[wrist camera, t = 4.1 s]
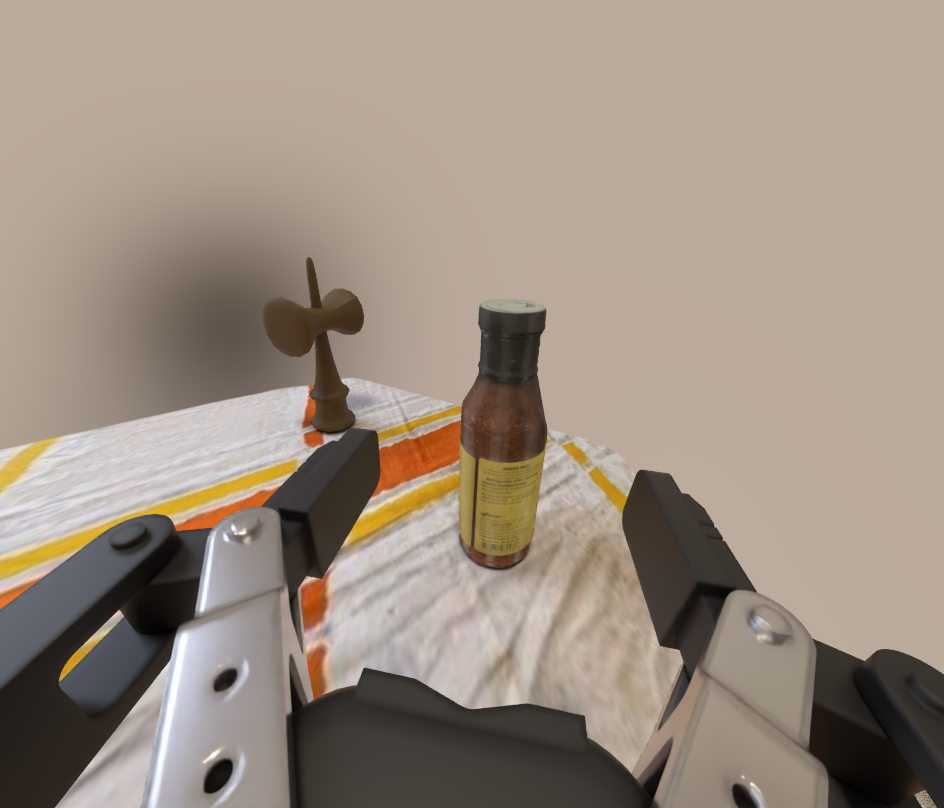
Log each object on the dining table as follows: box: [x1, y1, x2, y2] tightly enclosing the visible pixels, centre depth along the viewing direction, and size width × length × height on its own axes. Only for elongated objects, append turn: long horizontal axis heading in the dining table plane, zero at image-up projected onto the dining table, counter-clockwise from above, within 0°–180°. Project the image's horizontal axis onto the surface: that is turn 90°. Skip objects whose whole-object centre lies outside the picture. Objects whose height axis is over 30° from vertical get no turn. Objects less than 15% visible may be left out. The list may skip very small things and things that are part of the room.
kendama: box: [263, 257, 364, 432], centre depth 39 cm, size 6×10×20 cm, turn 158°
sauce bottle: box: [459, 300, 547, 568], centre depth 25 cm, size 7×6×20 cm
